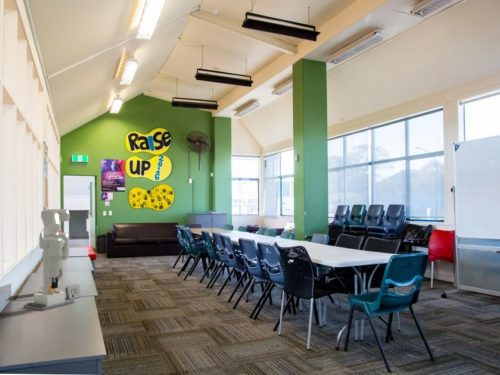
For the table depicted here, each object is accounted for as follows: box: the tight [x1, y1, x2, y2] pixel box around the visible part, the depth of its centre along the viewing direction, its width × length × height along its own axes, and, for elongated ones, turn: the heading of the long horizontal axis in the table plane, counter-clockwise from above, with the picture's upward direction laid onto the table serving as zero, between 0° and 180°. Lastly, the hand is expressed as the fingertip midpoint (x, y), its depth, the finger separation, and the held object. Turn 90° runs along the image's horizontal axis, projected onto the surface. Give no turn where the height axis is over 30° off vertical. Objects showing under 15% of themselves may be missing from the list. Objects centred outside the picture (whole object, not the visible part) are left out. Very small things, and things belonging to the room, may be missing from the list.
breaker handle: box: [48, 285, 55, 293], centre depth 251 cm, size 2×3×5 cm, turn 152°
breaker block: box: [23, 289, 75, 312], centre depth 252 cm, size 19×21×9 cm
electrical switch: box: [65, 283, 82, 300], centre depth 270 cm, size 9×5×9 cm, turn 152°
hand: (54, 288), depth 250 cm, fingers closed
